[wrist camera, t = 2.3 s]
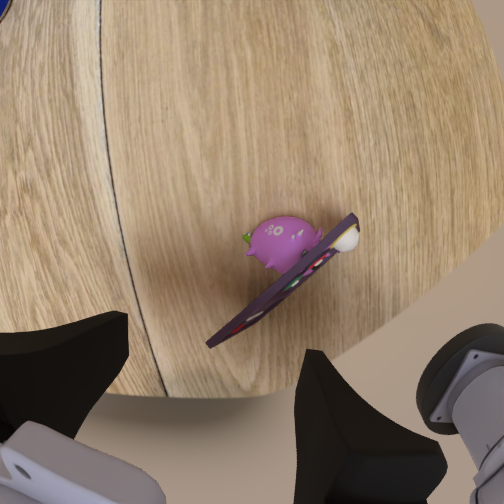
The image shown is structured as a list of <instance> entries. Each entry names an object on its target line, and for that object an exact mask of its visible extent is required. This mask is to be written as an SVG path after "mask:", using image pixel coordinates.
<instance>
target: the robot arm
mask: <svg viewBox="0 0 504 504" xmlns="http://www.w3.org/2000/svg"><path fill="white" fill-rule="evenodd" d="M475 355H476V356H475ZM128 356H129V344H128V314H127V313H123V312H119V311H110V312H106V313H102V314H99V315H96V316H92V317H89V318H86V319H83V320H80V321H76V322H73V323H69V324H65V325H62V326H58V327H54V328H49V329H44V330H37V331H29V332H15V333H0V504H166V497H165V494H164V493H163V491H162V489H161V487H160V486H159V484H158V483H157V481H156V480H155V479H153V478H152V477H151V476H149V475H148V474H147V473H146V472H145V471H143V470H142V469H141V468H138V467H137V466H134V465H132V464H130V463H128V462H126V461H124V460H122V459H120V458H117V457H114V456H112V455H109V454H107V453H104V452H101V451H99V450H97V449H94V448H92V447H89V446H87V445H85V444H82V443H80V442H78V441H75V440H74V438H75V436H76V434H77V432H78V430H79V428H80V427H81V425H82V423H83V421H84V420H85V418H86V416H87V415H88V413H89V411H90V410H91V409H92V407H93V406H94V405H95V403H96V402H97V401H98V400H99V398H100V397H101V396H102V394H103V393H104V392H105V391H106V389H107V388H108V387H109V386H110V384H111V383H112V382H113V381H114V379H115V378H116V377H117V375H118V374H119V373H120V371H121V369H122V368H123V366H124V364H125V362H126V360H127V358H128ZM474 356H475V357H474ZM295 394H296V395H295V405H294V417H295V433H296V449H297V471H296V484H295V494H294V503H293V504H428V503H427V500H426V499H427V498H428V497H429V495H430V494H431V493H432V492H433V491H434V490H435V488H436V487H437V486H438V485H439V483H440V482H441V481H442V479H443V478H444V476H445V474H446V472H447V468H448V466H447V461H446V459H445V457H444V454H443V452H442V450H441V447H440V445H439V443H438V442H437V441H435V440H432V439H430V438H427V437H424V436H422V435H419V434H417V433H415V432H412V431H410V430H408V429H406V428H404V427H402V426H400V425H399V424H397V423H395V422H394V421H392V420H390V419H389V418H387V417H386V416H384V415H383V414H381V413H380V412H378V411H377V410H376V409H374V408H373V407H372V406H371V405H369V404H368V403H367V402H366V401H365V400H364V399H362V398H361V397H360V396H359V395H358V394H357V393H356V392H355V391H354V390H353V389H352V387H351V386H349V384H348V383H347V382H346V381H345V380H344V379H343V377H342V376H341V375H340V374H339V373H338V371H337V370H336V369H335V368H334V366H333V365H332V363H331V362H330V361H329V359H328V358H327V357H326V355H325V354H324V353H323V351H319V350H311V349H306V353H305V357H304V361H303V365H302V369H301V372H300V376H299V380H298V383H297V387H296V393H295ZM429 419H430V421H432V422H446V423H454V424H455V426H456V428H457V430H458V432H459V434H460V435H461V438H462V440H463V441H464V443H465V445H466V447H467V449H468V451H469V453H470V455H471V457H472V459H473V461H474V463H475V465H476V467H477V469H478V471H479V472H478V473H477V474H476V476H474V477H473V480H474V482H475V484H476V486H477V488H475V489H474V490H473V492H472V493H471V496H470V504H504V355H502V354H497V353H491V352H486V351H481V350H476V349H471V350H469V351H468V352H467V354H466V356H465V358H464V359H463V361H462V363H461V365H460V367H459V369H458V371H457V372H456V374H455V376H454V378H453V379H452V381H451V383H450V385H449V386H448V388H447V390H446V391H445V393H444V395H443V396H442V398H441V399H440V401H439V403H438V404H437V406H436V407H435V409H434V411H433V412H432V414H431V415H430V417H429Z"/></svg>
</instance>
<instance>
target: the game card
mask: <svg viewBox="0 0 504 504" xmlns="http://www.w3.org/2000/svg"><path fill="white" fill-rule="evenodd" d="M359 232H360V227H359V220H358V218H357V217H356V216H355V215H354V214H353V213H350V214H349V215H348V216H347V217H346V218H345V219H344V220H343V221H342V222H341V223H339V224H338V225H337V226H336V227H335V228H334V229H333V230H332V231H331V232H330V233H329V234H328V235H326V236H325V237H324V238H323V239H322V240H321V241H320V240H319V239H320V238H321V236H322V229H321V228H319V230H318V232H317V233H316V232H315V230H314V229H313V227H312V226H311V225H310V224H308V223H307V222H306V221H304V220H302V219H300V218H297V217H291V216H282V217H276V218H272V219H270V220H267V221H265V222H264V223H262V224H261V225H260V226H258V227H257V229H256V230H255V231H254V233H253V235H252V236H251V233H250V234H249V233H248V235H247V233H245V232H244V235H243V237H242V238H243V239H244V240H245V241H246V242H247V243H250V247H251V248H250V249H249V250H248V251H247V253H246V256H250V255H254V256H255V257H256V258H257V259H258V260H259V261H260V262H262V263H264V264H265V265H266V267H265V268H266V269H268V268H273V269H275V270H276V271H278V272H279V273H281V274H283V275H282V276H281V277H280V278H279V279H278V280H277V281H276V282H274V283H273V284H272V285H271V286H270V287H269V288H268V289H267V290H265V291H264V292H263V293H262V294H261V295H260V296H259V297H257V298H256V299H255V300H254V301H253V302H252V303H251V304H249V305H248V306H247V307H246V308H245V309H244V310H243V311H241V312H240V313H239V314H238V315H237V316H236V317H234V318H233V319H232V320H231V321H230V322H229V323H227V324H226V325H225V326H224V327H223V328H222V329H220V330H219V331H218V332H217V333H216V334H215V335H213V336H212V337H211V338H210V339H209V340H208V341H206V342H205V343H206V345H207V346H208V347H209V348H210V349H211V348H213V347H215V346H216V345H218V344H220V343H222V342H224V341H226V340H227V339H229V338H231V337H233V336H234V335H236V334H238V333H240V332H242V331H243V330H245V329H247V328H249V327H250V326H252V325H254V324H255V323H257V322H258V321H259V320H260V319H261V318H263V317H264V316H265V315H266V314H267V313H268V312H270V311H271V310H272V309H273V308H274V307H276V306H277V305H278V304H279V303H280V302H281V301H283V300H284V299H285V298H286V297H287V296H288V295H290V294H291V293H292V292H293V291H294V290H295V289H296V288H298V287H299V286H300V285H301V284H302V283H303V282H304V281H306V280H307V279H308V278H309V277H310V276H311V275H312V274H314V273H315V272H316V271H317V270H318V269H319V268H320V267H321V266H323V265H324V264H325V263H326V262H327V261H328V260H329V259H330V258H331V257H333V256H334V255H335V254H336V253H337V252H338V253H339V252H340V251H341V252H348V251H351V250H353V249H354V248H355V247H356V245H357V244H358V241H359V234H358V233H359ZM330 248H332V249H331V250H330ZM279 290H280V291H279ZM278 291H279V292H278Z"/></svg>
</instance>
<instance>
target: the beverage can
mask: <svg viewBox="0 0 504 504" xmlns="http://www.w3.org/2000/svg"><path fill="white" fill-rule="evenodd" d="M10 2H11V0H0V21H1V19H2V18H3V17H4V15H5V14H6V12H7V10H8V8H9V5H10Z"/></svg>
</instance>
